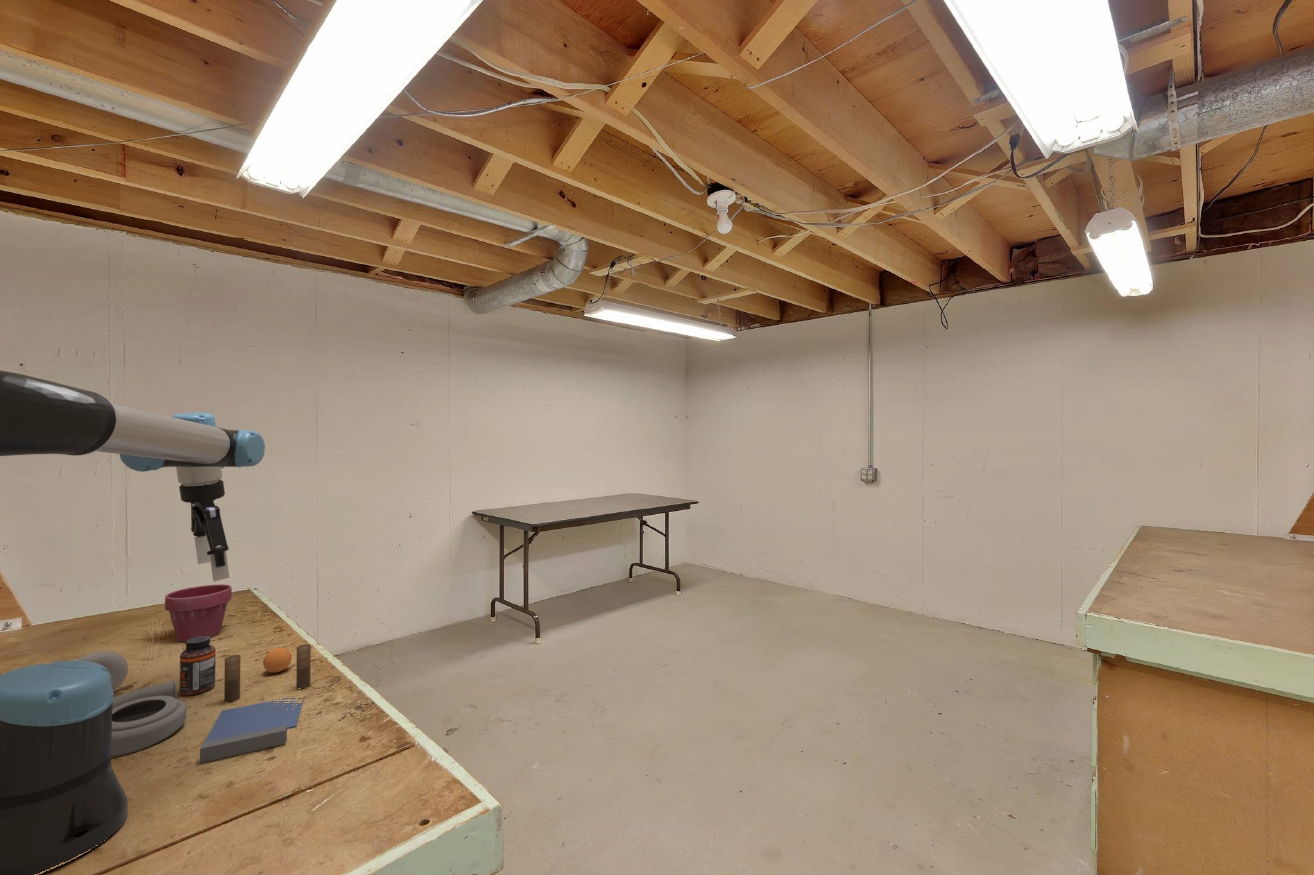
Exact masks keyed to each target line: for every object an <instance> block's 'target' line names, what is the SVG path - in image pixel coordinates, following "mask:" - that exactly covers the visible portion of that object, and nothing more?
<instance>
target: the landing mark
mask: <svg viewBox="0 0 1314 875" xmlns="http://www.w3.org/2000/svg"><path fill="white" fill-rule="evenodd" d="M289 698H290V697H285V698H281V699H282V700H285V699H286V700H287V699H289ZM290 699H291V700H292V699H293V700H294V699H296V698H290ZM297 699H298V698H297ZM299 699H301V698H299ZM303 699H305V697H304V698H303ZM278 700H280V699H278ZM269 702H270V703H269ZM274 702H275V703H274ZM276 702H279V703H276ZM283 702H288V701H274V700H270V701H264V702H259V703H253V704H249V705H248V704H247V705H242V706H239V707H238V706H237V707H233V708H228V709H223V710H222V709H221V712H220V713H219V715H218V717H217V719H216V721H215V722H214V723H213V724H214V725H213V726H212V728H211V729H210V731H209V733H208V735H207V737H206V738H205V740H204V742H203V743H205V742H210V741H215V740H219V739H224V738H229V737H233V736H238V735H243V734H248V733H252V732H257V731H262V730H267V729H271V728H276V727H281V726H285V725H287V730H288V728H289V729H292V727H293V728H297V727H298V726H297V725H298V723H299V718H300V715H299V714H301V711H300V710H302V707H303V703H292V702H294V701H290V703H283ZM295 702H297V701H295ZM298 702H299V701H298ZM274 704H275V705H274ZM283 704H284V705H283ZM292 704H293V705H292ZM294 704H295V705H294ZM296 704H297V705H296ZM294 706H295V707H294ZM301 706H302V707H301ZM287 709H288V710H287ZM292 709H293V710H292Z"/></svg>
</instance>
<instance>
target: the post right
mask: <svg viewBox="0 0 1314 875" xmlns="http://www.w3.org/2000/svg"><path fill="white" fill-rule="evenodd" d="M311 646H312V645H311V644H309V643H306V644H300V645H298V646H297V647H296V676H295V677H296V683H295V684H296V685H295V686H296V687H295V688H305V689H307V688H306V687H307V686H309V687H310V686H311V661H312V660H311V658H312V657H311V655H312V654H311V652H312V651H311V649H312V648H311Z"/></svg>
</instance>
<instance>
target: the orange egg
mask: <svg viewBox="0 0 1314 875" xmlns="http://www.w3.org/2000/svg"><path fill="white" fill-rule="evenodd" d="M292 658H293V657H292V653H291V651H290V650H289V649H287V648H284V647H276V648H273V649H271V650H270V651H268V652H267V653H266V655H265V656H264V658H263V661H262V665H263V668H264V669H265V670H266V671H267V672H269V673H273V674H274V673H280V672H282V671H284V670H286V669H287V668H288V667H289V666H290V664H291V663H292V662H291V661H292V660H293V659H292Z"/></svg>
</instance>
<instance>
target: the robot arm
mask: <svg viewBox="0 0 1314 875" xmlns="http://www.w3.org/2000/svg"><path fill="white" fill-rule="evenodd" d="M265 448H266V445H265V440H264V438H263V436H262V434H260V433H259V432H257V431H254V430H244V429H226V428H223V427H219V426H218V427H217V423H216V419H215V416H214V415H213V414H212V413H209V412H182V413H176V414H173V415H171V416H169V415H165V414H160V413H156V412H152V411H146V410H142V409H138V408H134V407H130V406H126V405H125V406H124V405H120V404H116V403H112V401H111V400H110V399H108V397H106V396H104V395H102V394H100V393H98V392H95V391H91V390H87V389H81V388H78V387H75V386H71V385H68V384H63V383H59V382H55V381H52V380H51V381H50V380H47V379H42V378H39V377H36V376H30V375H27V374H22V373H17V372H13V371H7V370H0V457H9V456H28V455H31V456H32V455H67V456H75V457H77V456H85V455H89V454H92V453H95V452H100V453H107V454H116V455H119V458H120V461H121V462H122V463H123V464H124V465H125V466H126V467H128V468H129V469H131V470H133V471H136V472H143V473H144V472H151V471H157V470H159V469H161V468H175V469H176V476H177V481H178V483H179V484H180V485H179V486H178V488H179V495H180V500H181V501H182V502H183V503H187V504H189V503H190V515H191V517H190V520H191V522H190V524H191V525H190V527H191V528H190V531H191V532H192V534H193V536H194V544H195V552H196V558H197V564H198V565H202V564H206V563H210V567H211V574H212V581H213V582H214V583H215V582H218V581H221V580H225V579H229V578H230V573H229V571H230V570H229V566H228V565H229V564H228V557H227V551H229V545H228V542H227V538H226V533H225V530H224V525H223V521H222V518H221V508H220V507H219V506H218V505H215V503H214V502H215V501H216V500H218V499H221V498H223V497H224V496H225V494H226V492H225V486H224V480H222V478H223V471H222V469H225V468H243V467H254V466H256V465H258V464H260V463H261V462H262V460H263V459H264V456H265ZM114 697H115V696H114V691H113V689H112V686H111V675H110V673H109V671H108V669H107V668H105V667H104V666H102V665H100V664H97V663H94V662H89V661H75V660H57V661H53V662H50V663H44V662H42V663H37V664H31V665H26V666H23V667H19V668H16V669H12V670H9V671H7V672H4V673H2V674H0V875H34V874H38V873H40V872H42V871H45V870H47V869H50V868H51V867H54V866H56V865H59V864H60V863H62V862H66V861H68V860H70V859H72V858H74V857H76V856H78V855H79V854H82V853H84V852H86V851H88V850H89V849H92V848H93V847H95V846H96V845H99V844H100V843H101V842H103V841H104V840H106V838H109V837H110V836H111V835H112V836H113V835H115V834H116V833H117V832H118V831H119V830H120V829H121V828H122V826H123V825H124V823H125V822H126V821H127V818H128V813H129V812H128V811H129V809H128V808H129V807H128V806H129V801H128V796H127V794H126V792H125V790H124V788H123V787H122V785H121V783H120V781H119V778H118V777H117V775H116V773H115V771H114V770H113V767H112V758H111V738H112V703H113V698H114ZM116 831H117V832H116ZM114 833H115V834H114ZM112 836H111V837H112ZM111 837H110V838H111ZM110 838H109V839H110ZM106 841H107V840H106ZM103 843H104V842H103ZM100 845H101V844H100ZM100 845H99V846H100Z"/></svg>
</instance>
